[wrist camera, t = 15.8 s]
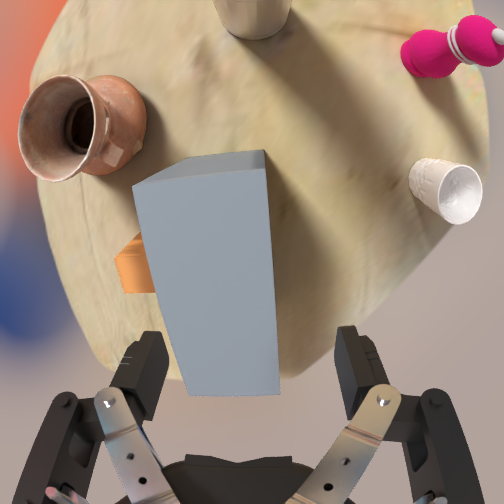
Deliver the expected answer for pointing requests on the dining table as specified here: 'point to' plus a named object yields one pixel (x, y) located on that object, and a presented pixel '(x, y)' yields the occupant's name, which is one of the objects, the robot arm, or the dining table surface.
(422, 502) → the robot arm
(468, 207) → the white cup
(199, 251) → the grey cubby
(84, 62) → the dining table surface
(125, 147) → the ceramic jug
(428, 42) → the pepper mill
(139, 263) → the orange block
